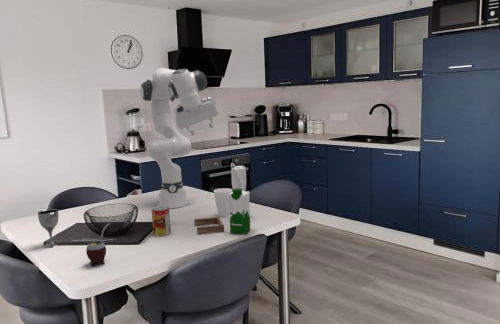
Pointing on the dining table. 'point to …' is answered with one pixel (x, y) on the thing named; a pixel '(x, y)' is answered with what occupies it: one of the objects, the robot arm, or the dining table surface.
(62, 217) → the dining table surface
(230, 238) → the dining table surface
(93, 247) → the mate gourd
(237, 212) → the milk carton
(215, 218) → the wooden tray
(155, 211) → the canned food
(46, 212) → the wine glass
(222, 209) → the foam cup
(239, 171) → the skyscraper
